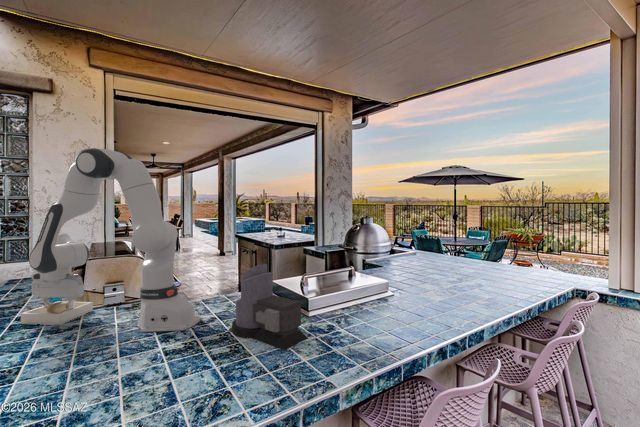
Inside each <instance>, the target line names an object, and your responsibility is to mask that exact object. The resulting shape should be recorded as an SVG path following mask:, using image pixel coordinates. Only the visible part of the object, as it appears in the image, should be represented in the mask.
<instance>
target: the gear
mask: <svg viewBox="0 0 640 427" xmlns="http://www.w3.org/2000/svg"><path fill="white" fill-rule="evenodd" d="M48 300H49V302H50V303H54V302H57V301H61V298H58V297H49V298H48Z"/></svg>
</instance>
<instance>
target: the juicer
mask: <svg viewBox="0 0 640 427" xmlns="http://www.w3.org/2000/svg"><path fill="white" fill-rule="evenodd" d="M273 279H274V278H273V273H272V272H271V271H269V272H268V264H267V263H262V264H258V265H255V266H253V267H250V268H249V269H246V270H245V271H244V272H242V273H241V275H240V299H237V300H236V301H235V319H234V320H233V321H232V322H231V327H230V328H229V329H228V330H227V331H228V332H229V333H232V335H234V336H235V337H237V338H240V339H241V338H243V339H251V340H252V339H253V340H256V341H258V342H260V343H263V344H265V345H268V346H270V347H274V348H276V349H279V350H282V351H286V350H288V349H290V348H291V347H294V346H296V345H297V344H300V343H301V342H303V341H306V340H307V339H309V338H308V336H306V335H305V333H303V332H302V330H299V329H300V326H302V304H301V301H298V300H294V299H291V298H286V297H282V296H278V295H275V294H273V293H274V292H273V285H274V284H273V281H274V280H273Z"/></svg>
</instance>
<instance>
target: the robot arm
mask: <svg viewBox="0 0 640 427" xmlns="http://www.w3.org/2000/svg"><path fill="white" fill-rule="evenodd" d="M104 180H116V181H117V182H118V185H119V187H120V189H121V192H122V194H123V197H124V199H125V203H126V205H127V207H128V210H129V215H130V219H131V220H130V221H131V226H132V237H131V239H132V244H133V246H134V248H136V249H137V250H138V251H140V252H144V253H145V254H144V258H143V262H142V264H141V267H140V268H141V270H140V272H141V287H140V289H139V290H140V291H139V292H140V293H139V294H140V295H139V296H140V303H141V304H140V311H139V316H138V317H139V318H138V322H137V325H136V326H137V328H138V329H140V332H142V333H146V332H170V331H171V332H172V331H173V332H174V331H186V330H188V329H190V328H192V327H194V326H195V325H196V324H198V323H199V322H200V321H201V315H199V314H195V308H194V304H192V302H190V301H188V300H187V299H186V298H184V297H183V296H182V295H180V294H179V290H180V289H181V286H178V287H177V286H176V285H175V283H174V280H175V279H174V264H175V263H174V262H175V256H176V255H175V254H176V249H177V239H178V235H179V233H178V229H177V227H176V226H175V225H174V224H173V223H171V222H169V221H165V220H164V218H163V212H162V202H161V199H160V195H159V194H158V191H157V189H156V185H155V183H154V181H153V177H151V174H150V172H149V170H148V168H147V167H146V165H145V164H144V163H143V162H142V161H141V160H139V159H134V158H132V157H131V156H130V155H129V154H127V153H125V152H121V151H116V150H112V149H107V148H106V149H105V148H96V147H95V148H93V147H91V148H85V149H82V150H80V151H79V152H78V153H77V154H76V157H75V161H74V163H72V165H70V167H69V170H68V172H67V174H66V178H65V180H64V186H63V187H64V188H63V192H62V194H61V196H60V197H59V199H58V200H57V201H56V203H53V204H51V206H50V207H49V209H48V211H47V213H46V216H45V218H44V221H43V224H42V227H41V229H40V233H39V236H38V238H37V240H36V243H35V245H34V247H33V248H32V250H31V252H30V254H29V257H28V258H29V259H28V262H29V266H30V267H31V269H33V270H34V271H36V272H35V273H33V274H31V277H30V278H31V285H30V286H31V288H30V289H31V295H32V296H33V297H34V298H40V300H41V302H42V303H43V306H44V307H45V308H47V305H48V304H51V303H50V302H49V301H50V299H48V298H49V297H58V298H67V301H69V302H68V304H66V308H67V309H70V308H72V307H73V302H76V299H78V298H80V297H83V296H84V294H85V287H84V283H83V277H82V276H80V275H79V274H78V273H76V274H75V273H74V274H73V273H72V268H76V267H80V266H84V265H85V264H86V263H88V261H89V259H90V249H89V247H88V246H87V244H85V243H82V242H78V241H76V240H74V239H72V238H71V236H70V235H69V234H68V233H60V232H61V230H62V228H63V226H64V225H65V224H66V223H67V222H69V221H71V220H73V219H75V218H78V217H79V216H80V217H81V216H83V215H86V214H88V213H91V211H93V210H94V209H95V208H96V206H97V205H98V202H99V196H100V190H101V186H102V183H103V181H104Z"/></svg>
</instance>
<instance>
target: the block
mask: <svg viewBox="0 0 640 427" xmlns="http://www.w3.org/2000/svg"><path fill="white" fill-rule="evenodd" d="M68 301H69V300H66V301H57V302H55V301H53V302H52V303H51V304H48V305H47V314H60V313H63V312H65V311H68V310H70V309H67V308H66V304H68Z"/></svg>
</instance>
